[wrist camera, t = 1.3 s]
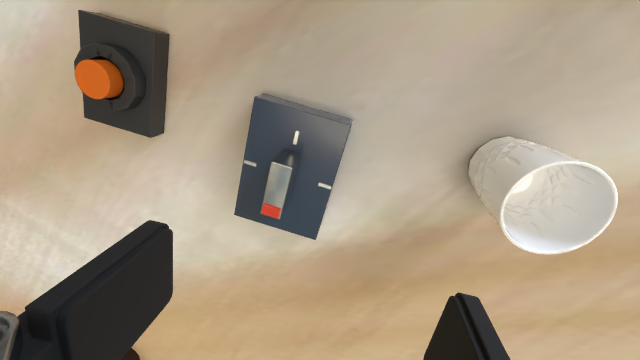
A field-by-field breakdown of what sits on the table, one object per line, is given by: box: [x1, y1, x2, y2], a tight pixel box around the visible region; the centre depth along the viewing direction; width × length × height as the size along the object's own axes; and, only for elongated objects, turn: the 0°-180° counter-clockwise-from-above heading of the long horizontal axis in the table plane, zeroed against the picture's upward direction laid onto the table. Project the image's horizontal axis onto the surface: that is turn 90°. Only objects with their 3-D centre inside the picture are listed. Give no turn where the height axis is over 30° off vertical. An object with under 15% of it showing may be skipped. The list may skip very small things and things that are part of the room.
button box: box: [74, 10, 169, 138], centre depth 32 cm, size 11×8×4 cm
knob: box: [261, 148, 302, 219], centre depth 30 cm, size 6×2×5 cm, turn 165°
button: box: [75, 60, 124, 99], centre depth 30 cm, size 4×4×2 cm
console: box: [234, 94, 352, 240], centre depth 34 cm, size 14×10×3 cm
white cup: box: [468, 136, 618, 254], centre depth 27 cm, size 8×8×10 cm
